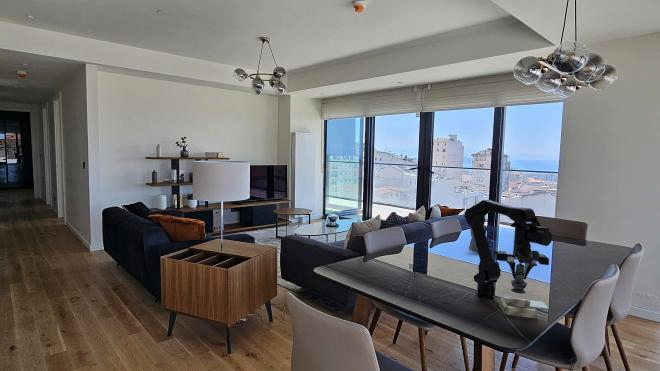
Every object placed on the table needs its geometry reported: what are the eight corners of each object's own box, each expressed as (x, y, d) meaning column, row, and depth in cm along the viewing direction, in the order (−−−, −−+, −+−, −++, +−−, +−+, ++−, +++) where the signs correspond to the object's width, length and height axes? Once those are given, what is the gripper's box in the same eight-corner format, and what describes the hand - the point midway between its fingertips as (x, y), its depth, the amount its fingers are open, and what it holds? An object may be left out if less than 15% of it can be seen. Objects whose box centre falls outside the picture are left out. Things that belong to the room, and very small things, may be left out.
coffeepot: (475, 252, 240) (476, 224, 238) (463, 248, 248) (465, 221, 247) (491, 249, 247) (493, 223, 245) (479, 246, 255) (481, 220, 254)
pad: (529, 307, 152) (529, 306, 152) (525, 301, 159) (525, 299, 159) (548, 309, 150) (548, 308, 150) (543, 303, 157) (543, 301, 157)
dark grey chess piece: (521, 288, 151) (523, 259, 150) (529, 294, 145) (532, 263, 144) (507, 288, 151) (509, 259, 150) (514, 293, 145) (517, 263, 144)
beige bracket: (504, 314, 144) (504, 306, 144) (498, 303, 155) (498, 296, 155) (536, 318, 142) (537, 310, 141) (528, 306, 153) (528, 299, 152)
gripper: (500, 242, 141) (497, 282, 142) (555, 246, 136) (552, 288, 138) (495, 236, 151) (492, 273, 153) (546, 240, 147) (542, 279, 148)
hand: (519, 278), depth 148 cm, fingers closed on dark grey chess piece, 3 cm apart
